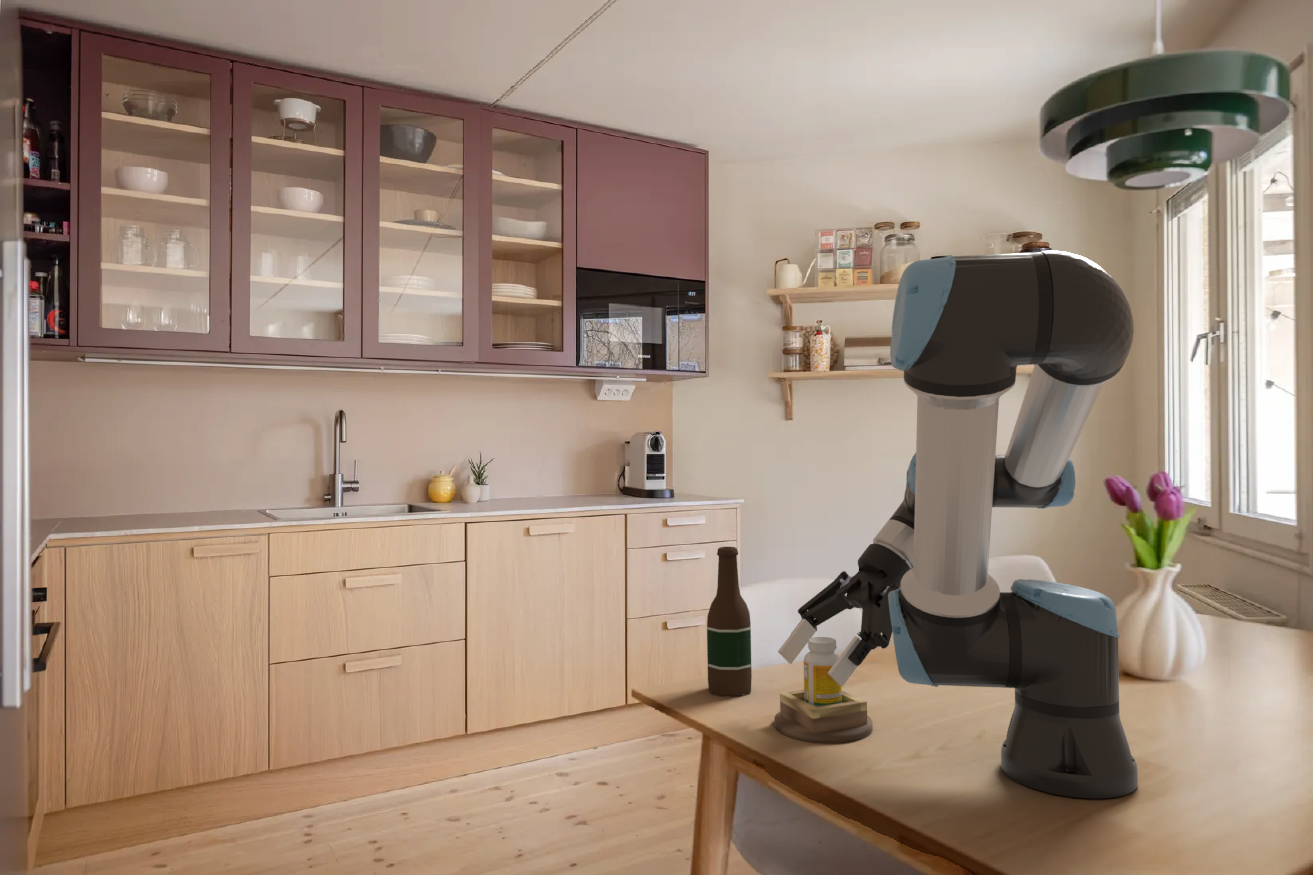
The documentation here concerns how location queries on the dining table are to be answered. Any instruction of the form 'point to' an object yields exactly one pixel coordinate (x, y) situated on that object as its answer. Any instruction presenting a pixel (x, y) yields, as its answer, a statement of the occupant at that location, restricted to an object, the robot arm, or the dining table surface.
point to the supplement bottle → (821, 673)
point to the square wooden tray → (823, 719)
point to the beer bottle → (728, 632)
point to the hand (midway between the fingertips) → (808, 668)
